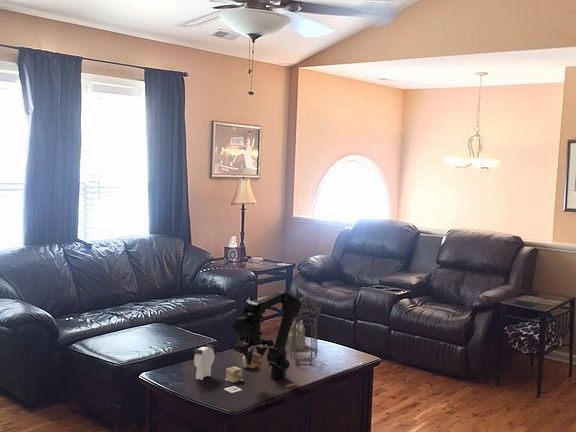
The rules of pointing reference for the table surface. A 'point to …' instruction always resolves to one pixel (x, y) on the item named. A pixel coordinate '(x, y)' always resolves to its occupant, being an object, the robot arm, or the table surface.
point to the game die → (244, 362)
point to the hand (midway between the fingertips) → (253, 363)
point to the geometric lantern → (311, 330)
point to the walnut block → (255, 360)
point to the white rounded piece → (203, 361)
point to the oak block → (233, 374)
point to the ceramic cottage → (301, 337)
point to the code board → (233, 388)
